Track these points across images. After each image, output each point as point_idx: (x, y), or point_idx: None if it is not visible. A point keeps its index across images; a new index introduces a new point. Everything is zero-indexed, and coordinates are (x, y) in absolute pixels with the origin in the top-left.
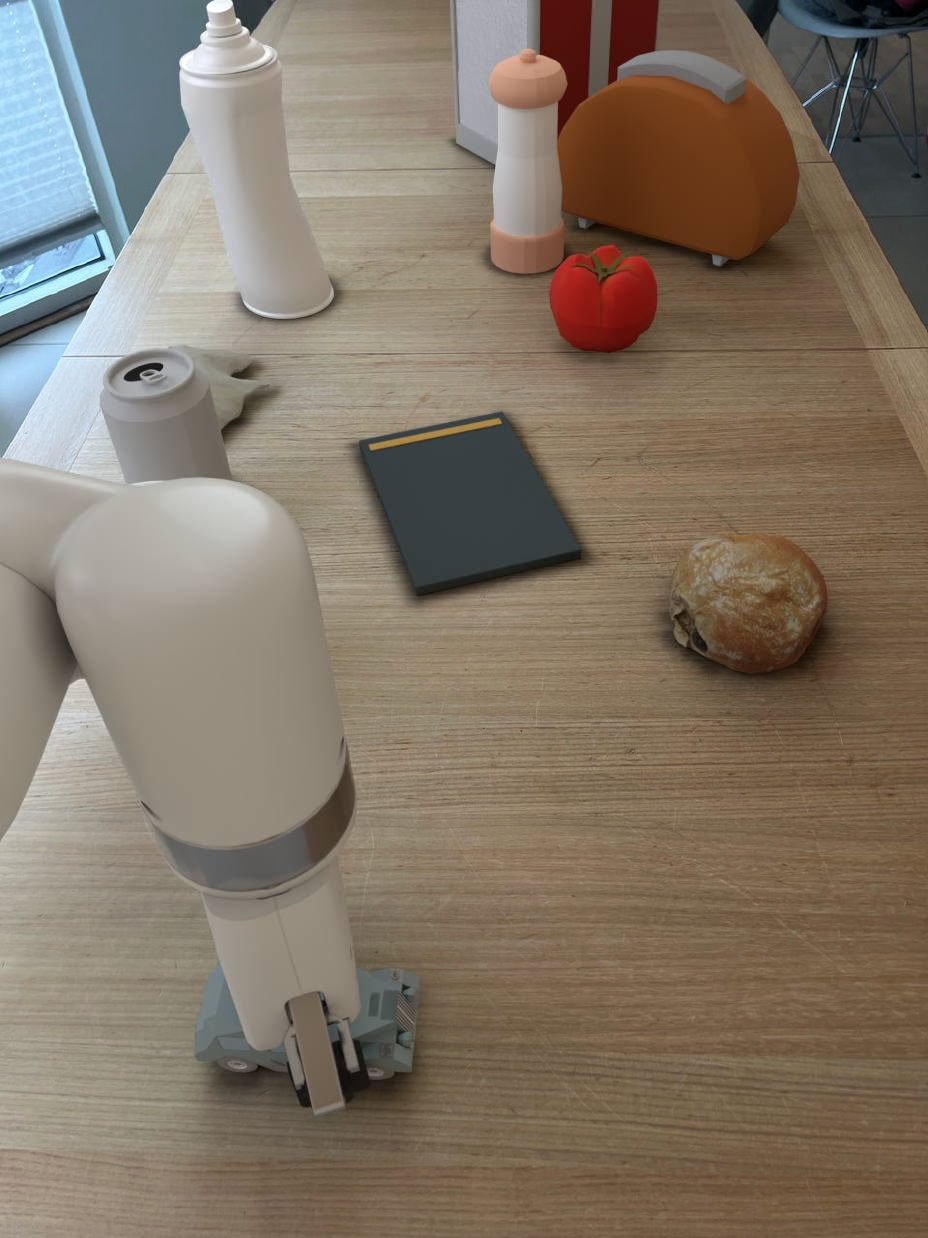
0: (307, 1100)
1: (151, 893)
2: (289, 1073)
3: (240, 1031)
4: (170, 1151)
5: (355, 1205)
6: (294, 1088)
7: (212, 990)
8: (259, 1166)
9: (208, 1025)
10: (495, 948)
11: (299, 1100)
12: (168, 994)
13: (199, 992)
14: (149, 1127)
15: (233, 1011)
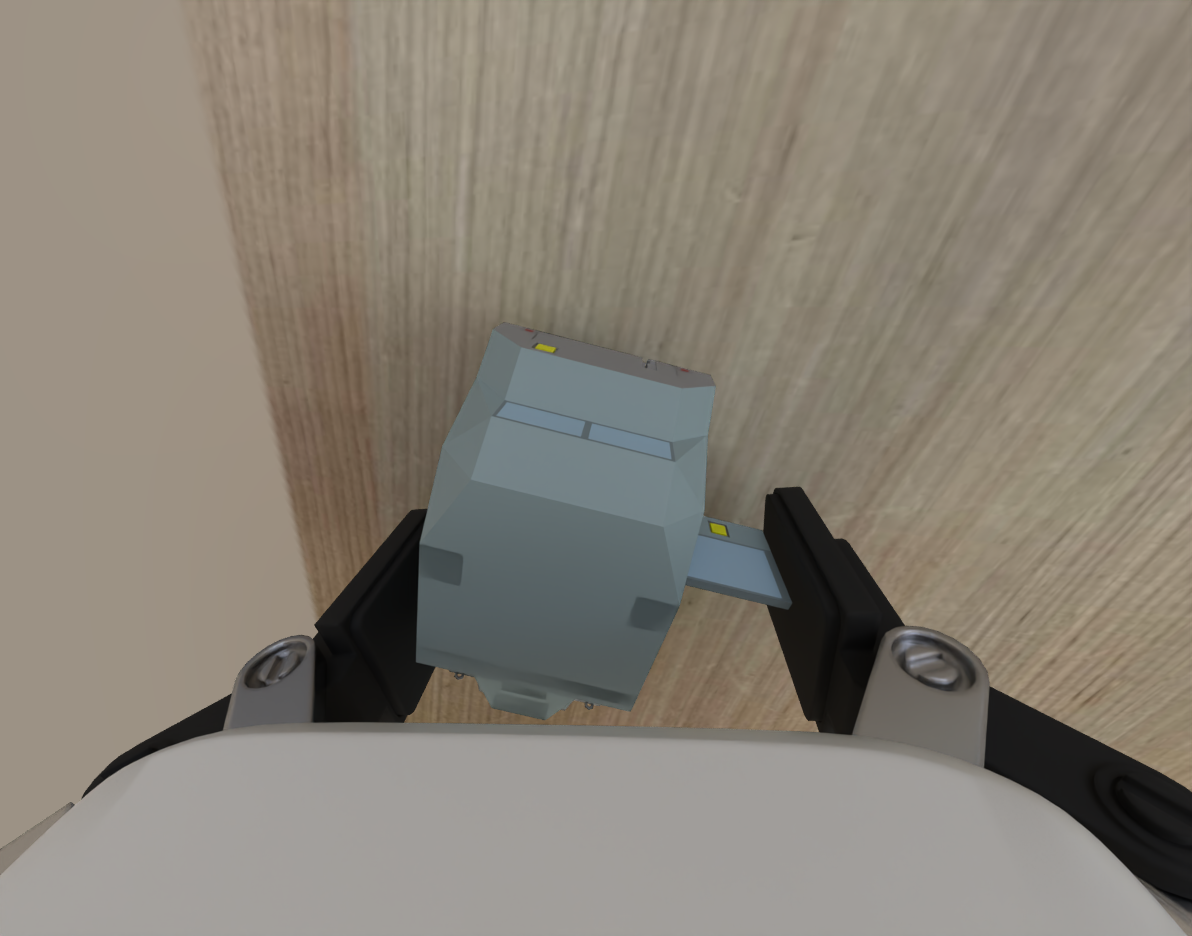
0: (97, 783)
1: (1081, 142)
2: (317, 624)
3: (422, 532)
4: (366, 238)
5: (323, 528)
6: (365, 565)
7: (573, 449)
8: (357, 408)
9: (473, 429)
10: (649, 714)
11: (398, 526)
12: (724, 217)
13: (705, 300)
14: (411, 183)
15: (477, 522)
